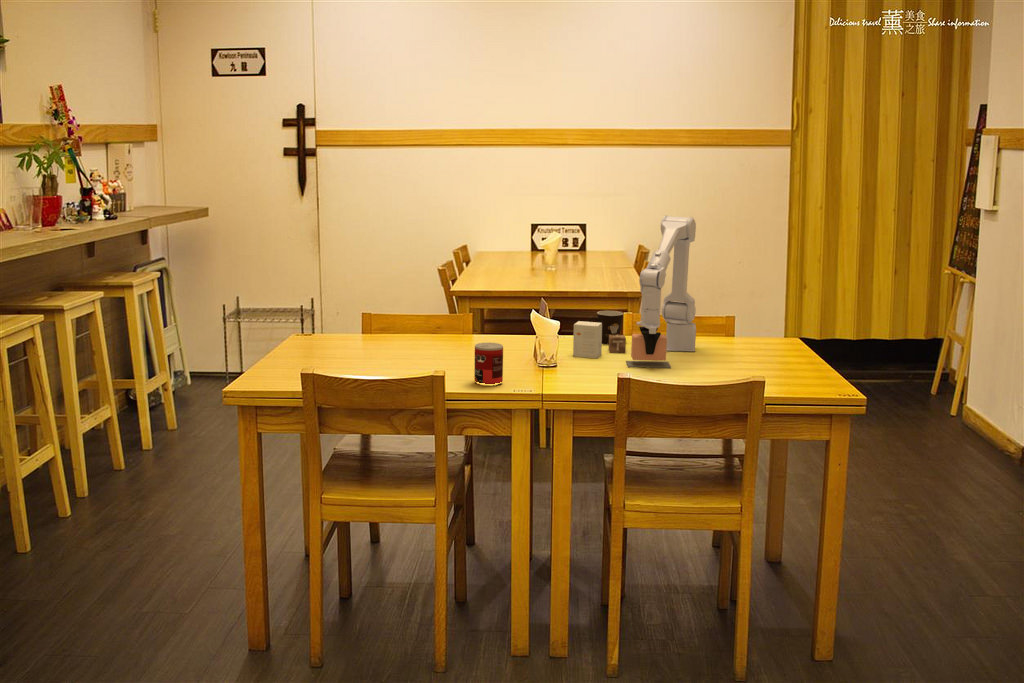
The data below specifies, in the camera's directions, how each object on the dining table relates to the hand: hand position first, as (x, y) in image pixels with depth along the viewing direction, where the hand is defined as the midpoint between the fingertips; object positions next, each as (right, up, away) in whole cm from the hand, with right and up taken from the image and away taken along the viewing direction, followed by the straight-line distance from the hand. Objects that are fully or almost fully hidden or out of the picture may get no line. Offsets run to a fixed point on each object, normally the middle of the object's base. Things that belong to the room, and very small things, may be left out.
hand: (648, 352), depth 316 cm
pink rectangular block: (0, -2, 0) cm, 2 cm away
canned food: (-48, -9, -23) cm, 54 cm away
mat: (0, -4, +1) cm, 4 cm away
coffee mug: (-11, +3, +31) cm, 33 cm away
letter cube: (-8, 0, +19) cm, 20 cm away
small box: (-18, -1, +12) cm, 22 cm away
